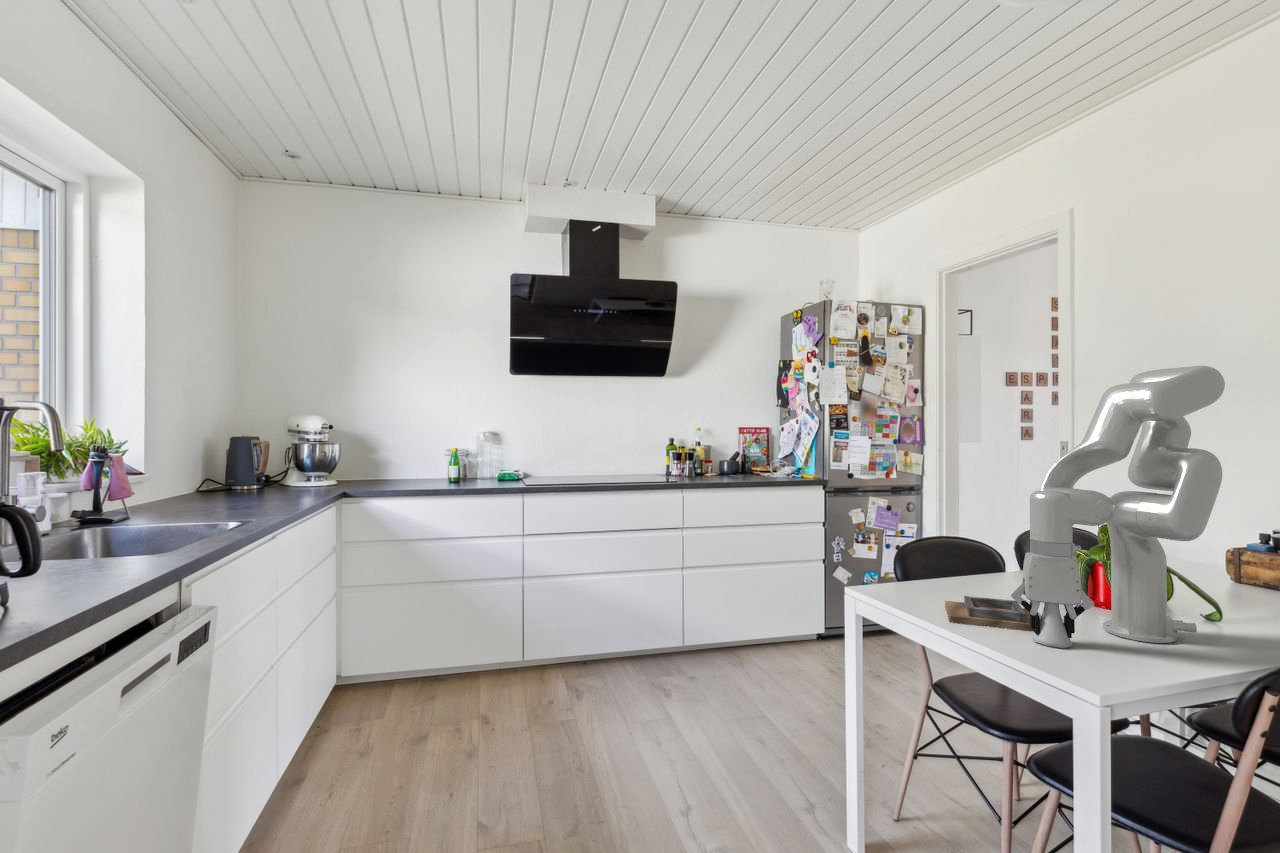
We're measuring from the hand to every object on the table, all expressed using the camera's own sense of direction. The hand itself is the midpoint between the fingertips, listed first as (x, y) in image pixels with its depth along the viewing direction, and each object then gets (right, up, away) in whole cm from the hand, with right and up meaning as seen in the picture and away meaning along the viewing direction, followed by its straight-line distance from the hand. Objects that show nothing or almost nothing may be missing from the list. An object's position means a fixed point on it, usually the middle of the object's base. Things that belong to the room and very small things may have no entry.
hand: (1051, 633), depth 127 cm
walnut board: (-3, -2, +16) cm, 17 cm away
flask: (0, -2, 0) cm, 2 cm away
